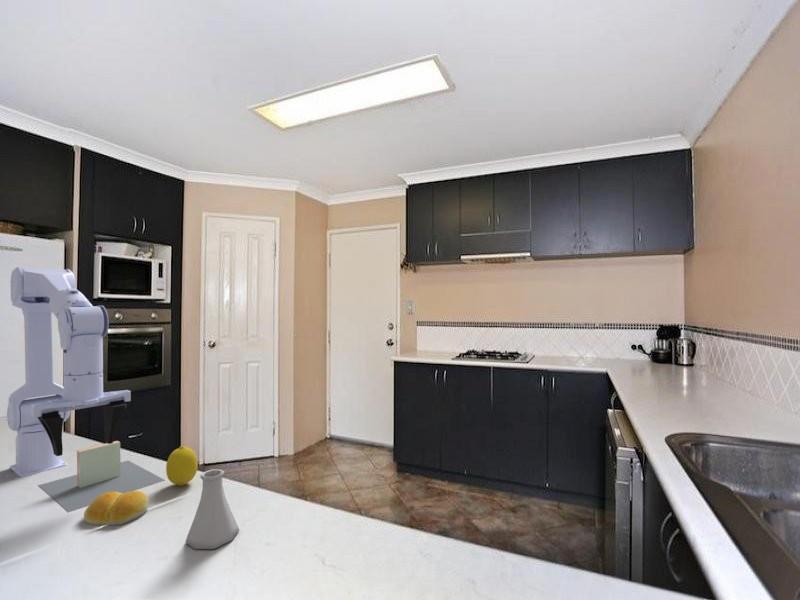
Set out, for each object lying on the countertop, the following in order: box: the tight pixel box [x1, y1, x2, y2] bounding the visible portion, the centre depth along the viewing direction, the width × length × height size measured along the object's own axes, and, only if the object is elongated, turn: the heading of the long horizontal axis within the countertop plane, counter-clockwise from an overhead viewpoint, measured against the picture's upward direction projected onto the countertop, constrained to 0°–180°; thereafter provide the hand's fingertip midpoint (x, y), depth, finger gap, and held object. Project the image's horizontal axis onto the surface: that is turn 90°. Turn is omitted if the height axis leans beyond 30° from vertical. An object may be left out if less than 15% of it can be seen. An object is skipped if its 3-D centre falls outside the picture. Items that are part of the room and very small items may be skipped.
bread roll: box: [83, 490, 150, 527], centre depth 73 cm, size 8×9×4 cm
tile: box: [76, 440, 121, 488], centre depth 86 cm, size 2×7×7 cm, turn 143°
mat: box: [37, 460, 165, 513], centre depth 85 cm, size 18×16×1 cm
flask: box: [185, 468, 240, 550], centre depth 66 cm, size 7×7×10 cm
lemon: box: [165, 445, 199, 487], centre depth 84 cm, size 6×6×8 cm
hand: (84, 448), depth 77 cm, fingers open, 7 cm apart
